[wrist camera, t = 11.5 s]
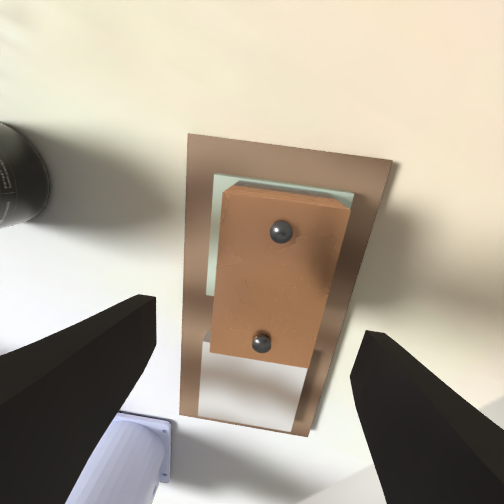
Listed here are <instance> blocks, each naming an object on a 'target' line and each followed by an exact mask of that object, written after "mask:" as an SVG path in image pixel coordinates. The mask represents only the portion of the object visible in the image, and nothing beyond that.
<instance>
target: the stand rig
mask: <svg viewBox="0 0 504 504" xmlns="http://www.w3.org/2000/svg"><path fill="white" fill-rule="evenodd" d="M392 161H393V160H385V159H378V158H370V157H363V156H355V155H348V154H340V153H332V152H325V151H317V150H310V149H302V148H295V147H287V146H280V145H272V144H264V143H257V142H249V141H242V140H234V139H227V138H219V137H212V136H204V135H196V134H189V133H188V142H187V176H186V209H185V243H184V276H183V310H182V344H181V377H180V411H179V415H183V416H189V417H195V418H200V419H206V420H212V421H218V422H223V423H229V424H235V425H240V426H246V427H252V428H258V429H263V430H269V431H275V432H281V433H286V434H292V435H298V436H304V437H308V435H309V432H310V429H311V425H312V422H313V419H314V416H315V412H316V409H317V406H318V402H319V399H320V396H321V393H322V389H323V386H324V383H325V380H326V376H327V373H328V370H329V367H330V363H331V360H332V357H333V354H334V350H335V347H336V344H337V341H338V337H339V334H340V331H341V327H342V324H343V321H344V318H345V314H346V311H347V308H348V305H349V301H350V298H351V295H352V292H353V288H354V285H355V282H356V279H357V275H358V272H359V269H360V265H361V262H362V259H363V256H364V252H365V249H366V246H367V243H368V239H369V236H370V233H371V230H372V226H373V223H374V220H375V217H376V213H377V210H378V207H379V204H380V200H381V197H382V194H383V190H384V187H385V184H386V181H387V177H388V174H389V171H390V168H391V164H392ZM239 180H241V181H248V182H255V183H263V184H270V185H277V186H284V187H292V188H299V189H306V190H313V191H320V192H327V193H328V194H330V195H331V196H332V197H334V198H335V199H336V200H338V201H339V202H341V203H342V204H343V205H345V206H346V207H347V208H349V209H350V210H351V212H350V216H349V220H348V223H347V227H346V231H345V235H344V238H343V242H342V246H341V249H340V253H339V257H338V261H337V264H336V268H335V272H334V275H333V279H332V283H331V287H330V290H329V294H328V298H327V301H326V305H325V309H324V313H323V316H322V320H321V324H320V327H319V331H318V335H317V339H316V342H315V346H314V350H313V354H312V357H311V361H310V365H309V368H308V369H307V368H301V367H295V366H289V365H283V364H277V363H271V362H265V361H259V360H253V359H247V358H241V357H234V356H228V355H222V354H216V353H210V340H211V327H212V315H213V303H214V291H215V278H216V266H217V254H218V242H219V229H220V217H221V205H222V193H223V191H225V190H226V189H228V188H229V187H231V186H232V185H234V184H235V183H236V182H238V181H239Z"/></svg>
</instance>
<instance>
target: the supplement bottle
mask: <svg viewBox="0 0 504 504" xmlns="http://www.w3.org/2000/svg"><path fill="white" fill-rule="evenodd" d="M48 196H49V178H48V174H47V171H46V168H45V165H44V163H43V161H42V159H41V157H40V156H39V154H38V153H37V151H36V150H35V148H34V147H33V146H32V145H31V144H30V143H29V142H28V141H27V140H26V139H25V138H24V137H23V136H22V135H20V134H19V133H18V132H16V131H15V130H13V129H12V128H10V127H8V126H6V125H4V124H2V123H0V228H4V227H8V226H12V225H15V224H19V223H23V222H26V221H29V220H31V219H33V218H34V217H36V216H37V215H38V214H39V213H40V212H41V211H42V210H43V208H44V207H45V205H46V203H47V200H48Z"/></svg>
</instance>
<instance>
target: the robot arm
mask: <svg viewBox="0 0 504 504" xmlns="http://www.w3.org/2000/svg"><path fill="white" fill-rule="evenodd" d="M155 346H156V297H153V296H147V295H140V294H138V295H136V296H133V297H131V298H129V299H127V300H124V301H122V302H120V303H118V304H116V305H114V306H112V307H110V308H108V309H106V310H104V311H102V312H100V313H98V314H96V315H94V316H91V317H89V318H87V319H85V320H83V321H81V322H79V323H77V324H75V325H72V326H70V327H68V328H66V329H63V330H61V331H59V332H57V333H54V334H52V335H50V336H48V337H45V338H43V339H41V340H39V341H36V342H34V343H32V344H29V345H27V346H24V347H22V348H19V349H17V350H14V351H12V352H9V353H6V354H4V355H1V356H0V504H152V502H153V499H154V496H155V493H156V490H157V488H158V485H159V482H163V483H168V482H169V480H170V458H171V424H170V423H169V422H168V421H164V420H158V419H152V418H147V417H141V416H135V415H130V414H124V413H118V411H119V410H120V408H121V407H122V405H123V403H124V402H125V400H126V399H127V397H128V396H129V394H130V392H131V391H132V389H133V388H134V386H135V384H136V383H137V381H138V380H139V378H140V376H141V375H142V373H143V372H144V369H145V367H146V365H147V363H148V361H149V359H150V357H151V355H152V353H153V351H154V349H155ZM350 380H351V386H352V391H353V396H354V401H355V406H356V410H357V413H358V416H359V419H360V422H361V425H362V429H363V432H364V435H365V438H366V441H367V444H368V447H369V450H370V453H371V456H372V459H373V462H374V465H375V468H376V471H377V474H378V477H379V480H380V483H381V486H382V489H383V492H384V496H385V499H386V502H387V504H504V430H503V429H502V428H500V427H499V426H498V425H496V424H495V423H493V422H492V421H491V420H490V419H489V418H487V417H486V416H484V414H482V413H481V412H480V411H478V410H477V409H476V408H475V407H473V406H472V405H471V404H470V403H468V402H467V401H466V400H465V399H463V398H462V397H461V396H460V395H458V394H457V393H456V392H455V391H453V390H452V389H451V388H450V387H449V386H447V385H446V384H445V383H444V382H443V381H441V380H440V379H439V378H438V377H437V376H436V375H434V374H433V373H432V372H431V371H430V370H428V369H427V368H426V367H425V366H424V365H423V364H421V363H420V362H419V361H418V360H417V359H416V358H414V357H413V356H412V355H411V354H410V353H409V352H407V351H406V350H405V349H404V348H403V347H401V346H400V345H399V344H398V343H397V342H395V341H394V340H393V339H392V338H390V337H389V336H388V335H386V334H385V333H380V332H374V331H368V330H366V331H365V334H364V337H363V340H362V343H361V346H360V349H359V351H358V354H357V357H356V360H355V363H354V366H353V368H352V371H351V374H350Z"/></svg>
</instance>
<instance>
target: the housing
mask: <svg viewBox="0 0 504 504" xmlns="http://www.w3.org/2000/svg"><path fill="white" fill-rule="evenodd" d="M350 212H351V210H350V209H349V208H347V207H346V206H345V205H343V204H342V203H341V202H339V201H338V200H336V199H335V198H334V197H332V196H331V195H330V194H328V193H327V192H320V191H313V190H306V189H299V188H292V187H284V186H277V185H270V184H263V183H255V182H248V181H241V180H239V181H238V182H236V183H235V184H234V185H232V186H231V187H229V188H228V189H226V190H225V191H223V193H222V205H221V217H220V229H219V242H218V254H217V266H216V278H215V291H214V303H213V315H212V327H211V340H210V353H216V354H222V355H228V356H234V357H241V358H247V359H253V360H259V361H265V362H271V363H277V364H283V365H289V366H295V367H301V368H307V369H308V368H309V365H310V361H311V357H312V354H313V350H314V346H315V342H316V339H317V335H318V331H319V327H320V324H321V320H322V316H323V313H324V309H325V305H326V301H327V298H328V294H329V290H330V287H331V283H332V279H333V275H334V272H335V268H336V264H337V261H338V257H339V253H340V249H341V246H342V242H343V238H344V235H345V231H346V227H347V223H348V220H349V216H350Z"/></svg>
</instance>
